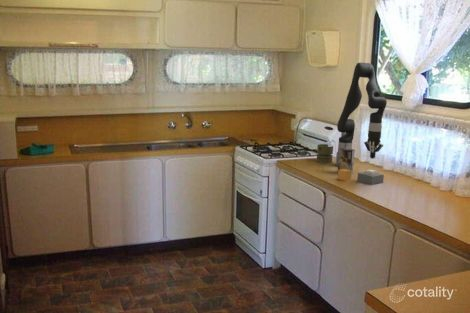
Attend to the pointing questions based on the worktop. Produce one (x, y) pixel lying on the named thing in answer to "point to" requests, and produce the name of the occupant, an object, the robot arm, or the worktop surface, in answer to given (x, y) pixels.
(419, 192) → the worktop surface
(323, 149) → the piston
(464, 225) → the worktop surface
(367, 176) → the grey square block
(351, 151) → the coffee box
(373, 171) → the switch
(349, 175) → the orange matte cube
